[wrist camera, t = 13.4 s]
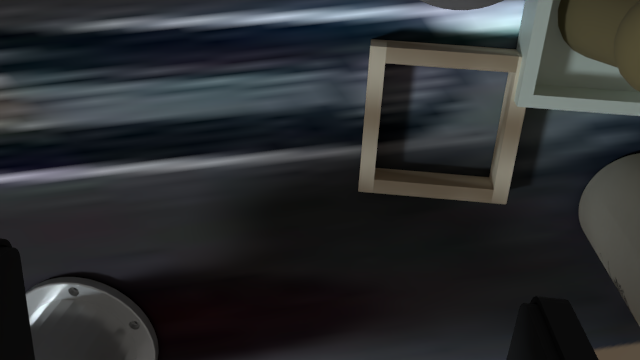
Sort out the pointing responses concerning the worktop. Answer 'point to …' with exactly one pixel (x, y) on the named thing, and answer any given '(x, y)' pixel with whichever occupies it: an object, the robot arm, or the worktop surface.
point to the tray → (565, 70)
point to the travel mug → (616, 225)
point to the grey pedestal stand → (461, 4)
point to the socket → (440, 183)
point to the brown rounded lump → (604, 33)
